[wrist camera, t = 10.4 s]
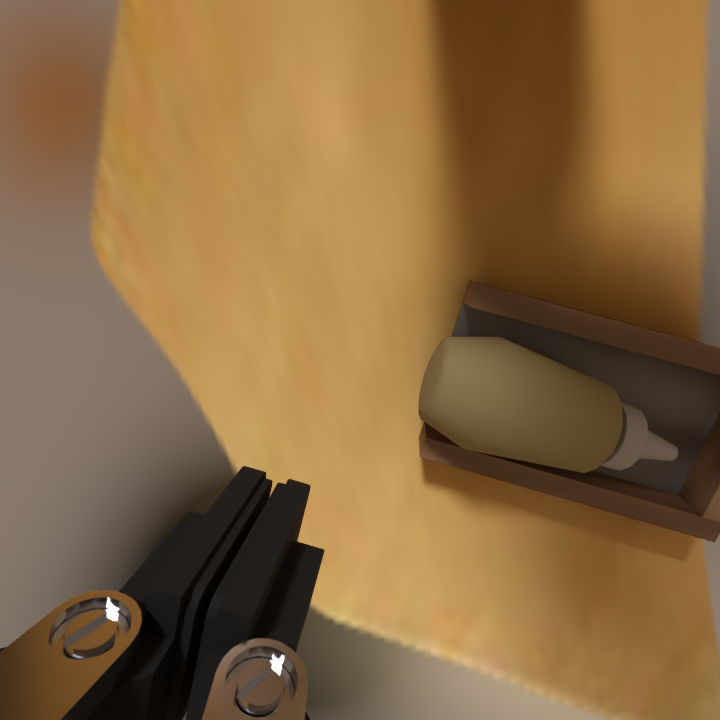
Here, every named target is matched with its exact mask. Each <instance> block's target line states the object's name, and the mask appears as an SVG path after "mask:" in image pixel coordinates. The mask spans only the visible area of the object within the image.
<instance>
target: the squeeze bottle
mask: <svg viewBox="0 0 720 720" xmlns="http://www.w3.org/2000/svg"><path fill="white" fill-rule="evenodd" d="M419 416H420V419H421V420H423V421H424V422H426V423H427V424H428V425H430V426H431V427H433V428H434V429H436V430H437V431H438V432H440V433H441V434H443V435H444V436H445V437H447V438H448V439H450V440H451V441H453V442H454V443H455V444H457V445H458V446H460V447H461V448H463V449H467V450H471V451H476V452H481V453H486V454H491V455H496V456H501V457H506V458H511V459H516V460H521V461H526V462H531V463H536V464H541V465H546V466H551V467H556V468H561V469H566V470H571V471H576V472H581V473H586V472H589V471H591V470H594V469H596V468H598V467H599V466H600V465H601V466H604V467H608V468H611V469H616V470H623V469H626V468H628V467H631V466H632V465H633V464H634V463H635V462H636V461H637V460H638V459H639V458H641V459H653V460H665V461H672V460H674V459H675V458H676V457H677V455H678V449H677V447H676V446H675V445H673V444H671V443H670V442H668V441H666V440H665V439H663V438H661V437H659V436H658V435H656V434H654V433H653V432H651V431H649V430H648V424H647V420H646V418H645V416H644V414H643V412H642V411H641V410H639V409H638V408H636V407H634V406H632V405H629V404H626V403H623V402H621V401H620V399H619V397H618V395H617V393H616V391H615V389H614V388H613V387H611V386H609V385H608V384H606V383H604V382H602V381H599V380H597V379H595V378H593V377H590V376H588V375H586V374H584V373H581V372H579V371H577V370H575V369H572V368H570V367H568V366H565V365H563V364H561V363H559V362H556V361H554V360H552V359H550V358H547V357H545V356H543V355H540V354H538V353H536V352H534V351H531V350H529V349H527V348H525V347H522V346H520V345H518V344H516V343H513V342H511V341H509V340H506V339H504V338H502V337H446V338H444V339H443V340H442V341H441V342H440V344H439V345H438V347H437V348H436V350H435V351H434V353H433V355H432V357H431V359H430V361H429V363H428V366H427V369H426V371H425V374H424V378H423V381H422V385H421V390H420V396H419Z"/></svg>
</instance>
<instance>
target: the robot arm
mask: <svg viewBox="0 0 720 720" xmlns="http://www.w3.org/2000/svg"><path fill="white" fill-rule="evenodd" d="M271 487H272V480H269V479H266V472H264V471H260V470H257V469H253V468H250V467H246V466H243V467H242V468H241V469H240V471H239V472H238V473H237V474H236V476H235V477H234V478H233V480H232V481H231V482H230V483H229V485H228V486H227V487H226V489H225V490H224V491H223V492H222V494H221V495H220V496H219V497H218V499H217V500H216V501H215V503H214V504H213V505H212V506H211V508H210V509H209V510H208V511H207V513H206V514H202V513H198V512H195V511H189V512H188V513H187V514H186V515H185V516H184V517H183V518H182V519H181V520H180V521H179V523H178V524H177V525H176V526H175V527H174V528H173V530H172V531H171V532H170V533H169V534H168V535H167V536H166V538H165V539H164V540H163V541H162V542H161V543H160V545H159V546H158V547H157V548H156V549H155V550H154V552H153V553H152V554H151V555H150V556H149V557H148V558H147V560H146V561H145V562H144V563H143V564H142V565H141V567H140V568H139V569H138V570H137V571H136V572H135V574H134V575H133V576H132V577H131V578H130V579H129V581H128V582H127V583H126V584H125V585H124V586H123V588H122V589H121V590H120V591H119V592H116V591H107V590H98V591H93V592H87V593H83V594H81V595H78V596H76V597H73V598H71V599H69V600H67V601H65V602H64V603H62V604H61V605H59V606H58V607H56V608H55V609H53V610H52V611H51V612H50V613H48V614H47V615H46V616H45V617H43V618H42V619H41V620H40V621H39V622H37V623H36V624H35V625H33V626H32V627H31V628H30V629H28V630H27V631H26V632H25V633H23V634H22V635H21V636H20V637H18V638H17V639H16V640H15V641H13V642H12V643H11V644H10V645H9V646H7V647H5V648H1V649H0V720H183V718H184V716H185V714H186V712H187V715H186V720H310V719H309V717H308V715H307V713H306V711H305V709H306V696H307V674H306V670H305V668H304V665H303V663H302V661H301V659H300V658H299V657H298V655H297V654H296V650H297V647H298V643H299V640H300V636H301V633H302V630H303V626H304V622H305V619H306V616H307V612H308V609H309V605H310V601H311V598H312V594H313V591H314V587H315V583H316V580H317V576H318V572H319V569H320V565H321V561H322V558H323V554H324V549H320V548H317V547H314V546H310V545H307V544H303V543H300V542H297V540H298V536H299V532H300V528H301V524H302V520H303V516H304V512H305V508H306V504H307V500H308V496H309V491H310V485H308V484H305V483H302V482H298V481H295V480H291V479H288V481H287V483H286V484H283V483H278V484H277V485H276V487H275V489H274V491H273V492H272V494H271V496H270V492H271ZM269 496H270V498H269Z"/></svg>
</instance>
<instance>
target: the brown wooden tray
mask: <svg viewBox="0 0 720 720" xmlns="http://www.w3.org/2000/svg"><path fill="white" fill-rule="evenodd" d="M452 337H502V338H504V339H506V340H509V341H511V342H513V343H516V344H518V345H520V346H522V347H525V348H527V349H529V350H531V351H534V352H536V353H538V354H540V355H543V356H545V357H547V358H550V359H552V360H554V361H556V362H559V363H561V364H563V365H565V366H568V367H570V368H572V369H575V370H577V371H579V372H581V373H584V374H586V375H588V376H590V377H593V378H595V379H597V380H599V381H602V382H604V383H606V384H608V385H609V386H611V387H613V388H614V389H615V391H616V393H617V395H618V397H619V399H620V401H621V402H623V403H626V404H629V405H632V406H634V407H636V408H638V409H639V410H641V411H642V412H643V414H644V416H645V418H646V420H647V424H648V430H649V431H651V432H653V433H654V434H656V435H658V436H659V437H661V438H663V439H665V440H666V441H668V442H670V443H671V444H673V445H675V446H676V447H677V449H678V455H677V457H676V458H675V459H674V460H672V461H665V460H653V459H641V458H639V459H638V460H637V461H636V462H635V463H634V464H633V465H632V466H631V467H628V468H626V469H623V470H616V469H611V468H608V467H604V466H601V465H600V466H599V467H598V468H596V469H594V470H591V471H589V472H586V473H581V472H576V471H571V470H566V469H561V468H556V467H551V466H546V465H541V464H536V463H531V462H526V461H521V460H516V459H511V458H506V457H501V456H496V455H491V454H486V453H481V452H476V451H471V450H467V449H463V448H461V447H460V446H458V445H457V444H455V443H454V442H453V441H451V440H450V439H448V438H447V437H445V436H444V435H443V434H441V433H440V432H438V431H437V430H436V429H434V428H433V427H431V426H430V425H428V424H427V423H426V422H424V424H423V427H422V431H421V434H420V437H419V446H420V457H422V458H426V459H429V460H433V461H436V462H440V463H443V464H446V465H450V466H453V467H457V468H460V469H464V470H467V471H471V472H474V473H477V474H481V475H484V476H488V477H491V478H495V479H498V480H502V481H505V482H509V483H512V484H515V485H519V486H522V487H526V488H529V489H533V490H536V491H540V492H543V493H547V494H550V495H553V496H557V497H560V498H564V499H567V500H571V501H574V502H578V503H581V504H584V505H588V506H591V507H595V508H598V509H602V510H605V511H609V512H612V513H616V514H619V515H622V516H626V517H629V518H633V519H636V520H640V521H643V522H647V523H650V524H653V525H657V526H660V527H664V528H667V529H671V530H674V531H678V532H681V533H685V534H688V535H691V536H695V537H698V538H702V539H705V540H709V541H712V542H715V541H716V539H717V537H718V535H719V533H720V348H717V347H714V346H710V345H706V344H703V343H699V342H695V341H692V340H688V339H684V338H681V337H677V336H673V335H670V334H666V333H662V332H658V331H655V330H651V329H647V328H644V327H640V326H636V325H632V324H629V323H625V322H621V321H618V320H614V319H610V318H607V317H603V316H599V315H595V314H592V313H588V312H584V311H581V310H577V309H573V308H569V307H566V306H562V305H558V304H555V303H551V302H547V301H544V300H540V299H536V298H532V297H529V296H525V295H521V294H518V293H514V292H510V291H506V290H503V289H499V288H495V287H492V286H488V285H484V284H481V283H477V282H473V281H469V284H468V287H467V290H466V293H465V296H464V299H463V303H462V306H461V309H460V312H459V315H458V318H457V321H456V324H455V327H454V331H453V334H452Z"/></svg>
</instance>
